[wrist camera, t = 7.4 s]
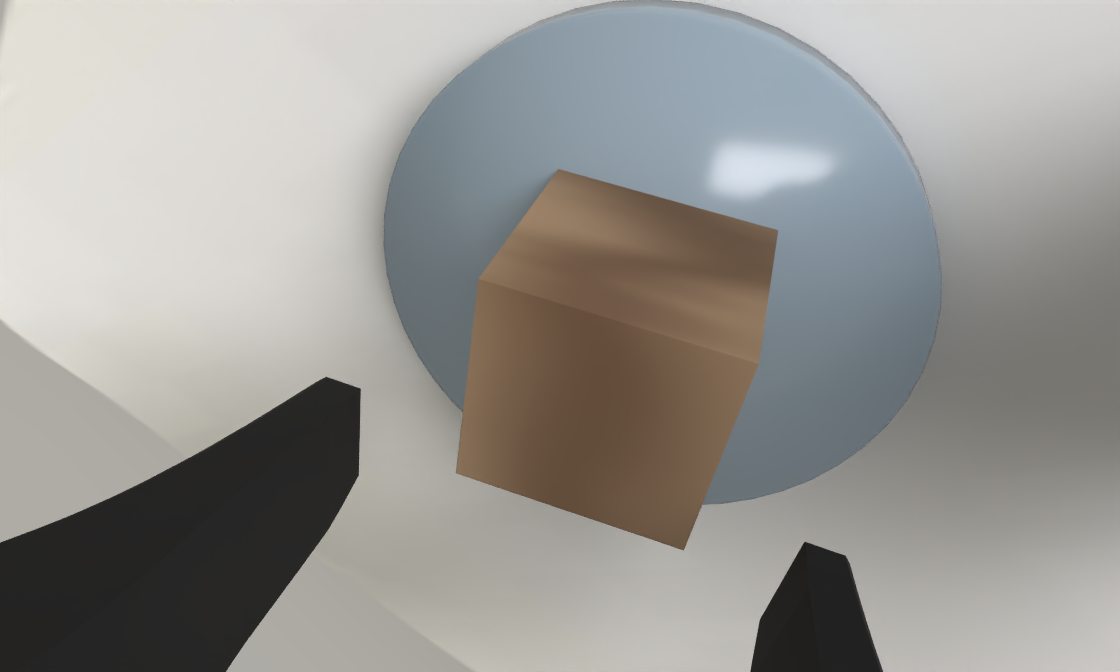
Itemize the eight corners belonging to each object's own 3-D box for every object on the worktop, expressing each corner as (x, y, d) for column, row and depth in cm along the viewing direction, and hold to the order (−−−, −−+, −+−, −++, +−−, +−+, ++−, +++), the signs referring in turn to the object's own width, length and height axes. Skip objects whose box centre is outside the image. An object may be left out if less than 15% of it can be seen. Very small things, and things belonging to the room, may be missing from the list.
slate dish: (1064, 115, 14) (1082, 139, 13) (796, 532, 21) (794, 567, 20) (437, -83, 15) (411, -73, 14) (386, 378, 23) (366, 404, 22)
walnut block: (777, 229, 15) (758, 364, 12) (714, 400, 18) (684, 550, 15) (558, 168, 16) (478, 278, 13) (529, 342, 19) (455, 473, 15)
